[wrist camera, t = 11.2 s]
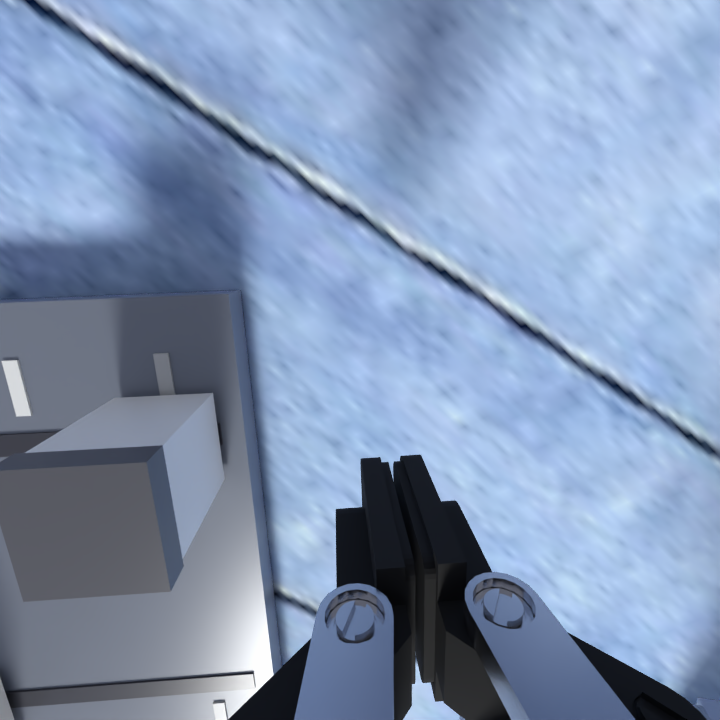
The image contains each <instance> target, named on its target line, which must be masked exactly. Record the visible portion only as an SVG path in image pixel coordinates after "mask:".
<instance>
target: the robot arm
mask: <svg viewBox="0 0 720 720" xmlns="http://www.w3.org/2000/svg"><path fill="white" fill-rule="evenodd" d="M393 476H394V482H393V478H392V475H391V471H390V467H389V463H388V462H382V463H381V459H380V457H378V458H363V459H361V484H362V507H359V508H345V509H336V567H337V588H336V589H335V590H333V591H332V592H330V593H329V594H327V596H326V597H325V598H324V599H323V601H322V602H321V603H320V606H319V609H318V611H317V614H316V619H315V624H314V628H313V633H312V638H311V639H310V640H309V641H308V642H307V643H306V644H305V645H304V646H303V647H302V648H301V649H300V650H299V651H298V652H297V653H296V654H295V655H294V656H293V657H292V658H291V659H290V660H289V661H288V662H286V663H285V664H284V665H283V666H282V667H281V668H280V669H279V670H278V671H277V672H276V673H275V674H274V675H273V676H272V677H271V678H270V679H269V680H268V681H267V682H266V683H265V684H264V685H263V686H262V687H261V688H260V689H259V690H258V691H257V692H256V693H255V694H254V695H253V696H252V697H251V698H250V699H249V700H248V701H247V702H246V703H245V704H244V705H242V706H241V707H240V708H239V709H238V710H237V711H236V712H235V713H234V714H233V715H232V716H231V717H230V718H229V719H228V720H403V718H404V717H405V715H406V714H407V712H408V710H409V709H410V707H411V706H412V684H415V652H416V657H417V661H418V666H419V671H420V676H421V680H422V682H423V683H428V682H431V685H432V690H433V694H434V698H435V702H436V701H444V703H445V704H446V705H448V706H449V707H450V708H451V709H453V710H454V711H455V712H456V713H458V714H459V715H460V720H720V701H719V700H713V699H706V698H699V697H698V698H697V702H696V705H695V704H691V703H690V702H689V701H687V700H686V699H685V698H684V697H682V696H681V695H679V694H678V693H676V692H675V691H673V690H671V689H670V688H668V687H667V686H665V685H663V684H661V683H659V682H657V681H656V680H654V679H652V678H650V677H648V676H646V675H645V674H643V673H641V672H639V671H637V670H635V669H634V668H632V667H630V666H628V665H626V664H624V663H623V662H621V661H619V660H617V659H615V658H613V657H612V656H610V655H608V654H606V653H604V652H602V651H601V650H599V649H597V648H595V647H593V646H591V645H590V644H588V643H586V642H584V641H582V640H580V639H579V638H577V637H575V636H573V635H571V634H569V633H568V632H567V631H566V630H565V629H564V628H563V626H562V625H561V624H560V622H559V621H558V620H557V619H556V617H555V616H554V615H553V614H552V612H551V611H550V610H549V608H548V607H547V606H546V605H545V603H544V602H543V601H542V599H541V598H540V597H539V596H538V594H537V593H536V592H535V591H534V590H533V589H532V588H531V587H530V586H529V585H527V584H526V583H524V582H523V581H521V580H520V579H518V578H516V577H513V576H511V575H508V574H504V573H498V572H492V571H491V569H490V567H489V565H488V563H487V561H486V559H485V557H484V555H483V553H482V551H481V549H480V547H479V544H478V542H477V540H476V538H475V536H474V534H473V532H472V530H471V528H470V526H469V524H468V522H467V520H466V518H465V516H464V514H463V512H462V510H461V508H460V506H459V504H458V503H457V502H456V501H442V502H441V501H440V498H439V496H438V494H437V491H436V489H435V487H434V484H433V482H432V480H431V477H430V475H429V473H428V470H427V468H426V466H425V463H424V461H423V459H422V456H421V455H409V456H401V457H400V461H397V462H394V464H393Z"/></svg>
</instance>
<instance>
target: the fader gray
mask: <svg viewBox="0 0 720 720" xmlns="http://www.w3.org/2000/svg"><path fill="white" fill-rule="evenodd" d="M224 479H225V478H224V471H223V463H222V456H221V449H220V441H219V434H218V427H217V419H216V412H215V405H214V397H213V393H202V394H182V395H162V396H142V397H122V398H113V399H112V400H110V401H108V402H107V403H105V404H104V405H102V406H100V407H99V408H97V409H95V410H94V411H92V412H90V413H89V414H87V415H86V416H84V417H82V418H81V419H79V420H77V421H76V422H74V423H73V424H71V425H69V426H68V427H66V428H64V429H63V430H61V431H59V432H58V433H56V434H55V435H53V436H51V437H50V438H48V439H46V440H45V441H43V442H41V443H40V444H38V445H37V446H35V447H33V448H32V449H30V450H28V451H27V452H25V453H15V454H13V455H11V456H9V457H8V458H6V459H4V460H2V461H1V462H0V526H1V530H2V533H3V536H4V540H5V543H6V546H7V550H8V553H9V556H10V559H11V563H12V566H13V569H14V573H15V576H16V579H17V583H18V586H19V589H20V593H21V596H22V599H23V602H29V601H44V600H58V599H73V598H87V597H102V596H116V595H131V594H145V593H160V592H171V590H172V588H173V586H174V585H175V583H176V581H177V579H178V577H179V575H180V573H181V571H182V569H183V567H184V564H183V557H184V556H185V554H186V552H187V550H188V548H189V546H190V544H191V542H192V540H193V538H194V536H195V535H196V533H197V531H198V529H199V527H200V525H201V523H202V521H203V519H204V517H205V516H206V514H207V512H208V510H209V508H210V506H211V504H212V502H213V500H214V498H215V497H216V495H217V493H218V491H219V489H220V487H221V485H222V483H223V481H224Z"/></svg>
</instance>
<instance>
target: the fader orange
mask: <svg viewBox="0 0 720 720" xmlns="http://www.w3.org/2000/svg"><path fill="white" fill-rule="evenodd" d="M0 720H14V717H13V714H12V711H11V708H10V705H9V702H8V699H7V696H6V693H5V690H4V687H3V684H2V681H1V678H0Z"/></svg>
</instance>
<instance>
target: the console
mask: <svg viewBox="0 0 720 720" xmlns="http://www.w3.org/2000/svg"><path fill="white" fill-rule="evenodd" d="M202 393H213V397H214V405H215V412H216V419H217V427H218V434H219V441H220V449H221V456H222V463H223V471H224V478H225V479H224V481H223V483H222V485H221V487H220V489H219V491H218V493H217V495H216V497H215V498H214V500H213V502H212V504H211V506H210V508H209V510H208V512H207V514H206V516H205V517H204V519H203V521H202V523H201V525H200V527H199V529H198V531H197V533H196V535H195V536H194V538H193V540H192V542H191V544H190V546H189V548H188V550H187V552H186V554H185V556H184V557H183V564H184V567H183V569H182V571H181V573H180V575H179V577H178V579H177V581H176V583H175V585H174V586H173V588H172V590H171V592H160V593H145V594H131V595H116V596H102V597H87V598H73V599H58V600H44V601H29V602H23V599H22V596H21V593H20V589H19V586H18V583H17V579H16V576H15V573H14V569H13V566H12V563H11V559H10V556H9V553H8V550H7V546H6V543H5V540H4V536H3V533H2V530H1V526H0V678H1V681H2V684H3V687H4V690H5V693H6V696H7V699H8V702H9V705H10V708H11V711H12V714H13V717H14V720H228V719H229V718H230V717H231V716H232V715H233V714H234V713H235V712H236V711H237V710H238V709H239V708H240V707H241V706H242V705H244V704H245V703H246V702H247V701H248V700H249V699H250V698H251V697H252V696H253V695H254V694H255V693H256V692H257V691H258V690H259V689H260V688H261V687H262V686H263V685H264V684H265V683H266V682H267V681H268V680H269V679H270V678H271V677H272V676H273V675H274V674H275V673H276V672H277V671H278V670H279V669H280V668H281V667H282V662H281V653H280V644H279V634H278V625H277V616H276V607H275V598H274V589H273V580H272V571H271V562H270V553H269V544H268V535H267V525H266V516H265V507H264V498H263V489H262V480H261V471H260V462H259V453H258V444H257V435H256V425H255V416H254V407H253V398H252V389H251V380H250V371H249V362H248V353H247V344H246V335H245V326H244V316H243V307H242V298H241V290H229V291H204V292H180V293H155V294H130V295H106V296H81V297H56V298H32V299H7V300H0V462H1V461H2V460H4V459H6V458H8V457H9V456H11V455H13V454H15V453H25V452H27V451H28V450H30V449H32V448H33V447H35V446H37V445H38V444H40V443H41V442H43V441H45V440H46V439H48V438H50V437H51V436H53V435H55V434H56V433H58V432H59V431H61V430H63V429H64V428H66V427H68V426H69V425H71V424H73V423H74V422H76V421H77V420H79V419H81V418H82V417H84V416H86V415H87V414H89V413H90V412H92V411H94V410H95V409H97V408H99V407H100V406H102V405H104V404H105V403H107V402H108V401H110V400H112V399H113V398H122V397H142V396H162V395H182V394H202Z"/></svg>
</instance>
